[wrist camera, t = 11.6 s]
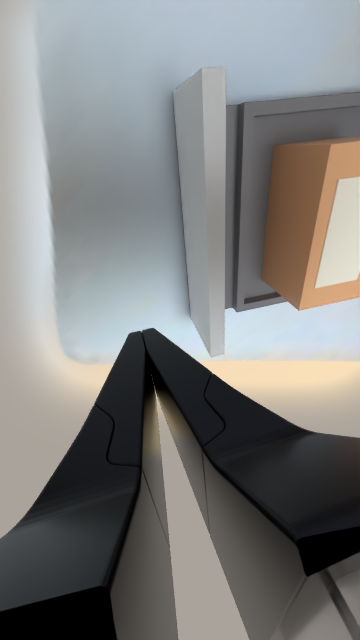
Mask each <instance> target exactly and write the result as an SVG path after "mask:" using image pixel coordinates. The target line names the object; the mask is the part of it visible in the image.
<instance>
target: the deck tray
mask: <svg viewBox="0 0 360 640" xmlns="http://www.w3.org/2000/svg"><path fill="white" fill-rule="evenodd" d="M173 99H174V111H175V124H176V136H177V149H178V162H179V174H180V187H181V199H182V212H183V224H184V237H185V249H186V262H187V274H188V287H189V299H190V312H191V319H192V321H193V323H194V325H195V327H196V329H197V331H198V333H199V335H200V337H201V339H202V341H203V343H204V345H205V347H206V349H207V351H208V352H209V354H210V356H211V357H214V356H218V355H223V354H224V331H225V309H228V308H234V310H235V311H236V312H241V311H245V310H250V309H255V308H259V307H264V306H268V305H273V304H278V303H282V302H287V300H286V299H284V298H283V297H282V296H281V295H280V294H278V293H277V292H276V291H275V290H274V289H272V288H271V287H270V286H269V285H268V284H266V283H265V282H264V281H263V280H262V279H261V278H262V267H263V257H264V246H265V235H266V224H267V213H268V202H269V191H270V180H271V169H272V158H273V148H274V145H280V144H289V143H297V142H306V141H314V140H322V139H331V138H341V137H360V92H357V93H346V94H335V95H324V96H313V97H302V98H291V99H280V100H269V101H258V102H247V103H242V104H239V105H229V106H226V67H211V68H201V69H200V70H199V71H198V72H196V73H195V74H194V75H193V76H191V77H190V78H189V79H188V80H186V81H185V82H184V83H183V84H181V85H180V86H179V87H178V88H176V89H175V90H174V91H173Z"/></svg>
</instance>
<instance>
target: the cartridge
mask: <svg viewBox="0 0 360 640" xmlns="http://www.w3.org/2000/svg"><path fill="white" fill-rule="evenodd" d="M261 279H262V280H263V281H264V282H265V283H266V284H268V285H269V286H270V287H271V288H272V289H274V290H275V291H276V292H277V293H278V294H280V295H281V296H282V297H283V298H284V299H286V300H287V301H288V302H289V303H290V304H292V305H293V306H294V307H295V308H296V309H298V310H304V309H308V308H313V307H317V306H322V305H326V304H331V303H335V302H340V301H344V300H349V299H353V298H358V297H359V296H360V137H341V138H331V139H322V140H314V141H306V142H297V143H289V144H280V145H274V148H273V158H272V169H271V180H270V191H269V202H268V213H267V224H266V235H265V246H264V257H263V267H262V278H261Z"/></svg>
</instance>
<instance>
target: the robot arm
mask: <svg viewBox="0 0 360 640" xmlns="http://www.w3.org/2000/svg"><path fill="white" fill-rule="evenodd" d="M153 383H154V384H153ZM154 387H155V389H154ZM155 391H156V394H157V397H158V400H159V403H160V405H161V408H162V411H163V413H164V416H165V418H166V421H167V424H168V426H169V429H170V431H171V434H172V437H173V439H174V442H175V445H176V447H177V450H178V453H179V455H180V458H181V460H182V462H183V465H184V468H185V471H186V474H187V476H188V479H189V481H190V484H191V487H192V489H193V492H194V495H195V497H196V500H197V502H198V505H199V508H200V510H201V513H202V516H203V518H204V521H205V523H206V526H207V529H208V531H209V534H210V537H211V539H212V542H213V545H214V547H215V550H216V553H217V555H218V558H219V560H220V563H221V566H222V568H223V571H224V574H225V576H226V579H227V581H228V584H229V587H230V589H231V592H232V594H233V597H234V599H235V602H236V605H237V608H238V610H239V613H240V616H241V618H242V621H243V624H244V626H245V629H246V631H247V634H248V637H249V639H250V640H360V438H356V437H349V436H340V435H332V434H323V433H317V432H313V431H309V430H306V429H304V428H301V427H299V426H297V425H294V424H292V423H291V422H289V421H287V420H285V419H284V418H282V417H280V416H279V415H277V414H275V413H273V412H272V411H270V410H269V409H267V408H265V407H263V406H262V405H260V404H258V403H257V402H255V401H253V400H251V399H250V398H248V397H247V396H245V395H243V394H241V393H240V392H239V391H237V390H236V389H234V388H233V387H231V386H230V385H228V384H227V383H226V382H224V381H222V380H221V379H220V378H219V377H217V376H216V375H215V374H213V373H212V372H210V371H209V370H208V369H207V368H206V367H204V366H203V365H202V364H200V363H199V362H198V361H196V360H195V359H194V358H192V357H191V356H190V355H189V354H187V353H186V352H185V351H183V350H182V349H181V348H179V347H178V346H177V345H175V344H174V343H173V342H172V341H170V340H169V339H168V338H166V337H165V336H164V335H162V334H161V333H160V332H158V331H157V330H156V329H154V328H150V329H145V330H143V331H142V332H141V331H137V332H132V333H130V334H129V335H128V337H127V339H126V341H125V343H124V345H123V347H122V349H121V351H120V353H119V355H118V357H117V359H116V361H115V363H114V365H113V367H112V369H111V371H110V373H109V375H108V377H107V379H106V381H105V383H104V385H103V387H102V389H101V391H100V393H99V395H98V397H97V399H96V401H95V403H94V406H93V407H92V409H91V411H90V413H89V415H88V417H87V419H86V421H85V423H84V425H83V426H82V428H81V430H80V432H79V434H78V435H77V437H76V439H75V440H74V442H73V443H72V445H71V447H70V448H69V450H68V451H67V453H66V455H65V456H64V458H63V459H62V461H61V462H60V464H59V465H58V467H57V469H56V470H55V472H54V473H53V475H52V476H51V478H50V479H49V481H48V482H47V484H46V486H45V487H44V489H43V490H42V492H41V493H40V495H39V497H38V498H37V499H36V501H35V502H34V504H33V505H32V507H31V508H30V509H29V511H28V512H27V513H26V514H25V516H24V517H23V518H22V519H21V520H20V521H19V522H18V523H17V525H16V526H14V527H13V528H12V529H11V530H10V531H9V532H8V533H7V534H6V535H5V536H3V537H2V538H1V539H0V640H178V631H177V620H176V611H175V610H176V609H175V599H174V588H173V577H172V566H171V557H170V545H169V534H168V523H167V512H166V501H165V491H164V480H163V469H162V458H161V447H160V437H159V426H158V415H157V404H156V394H155Z"/></svg>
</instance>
